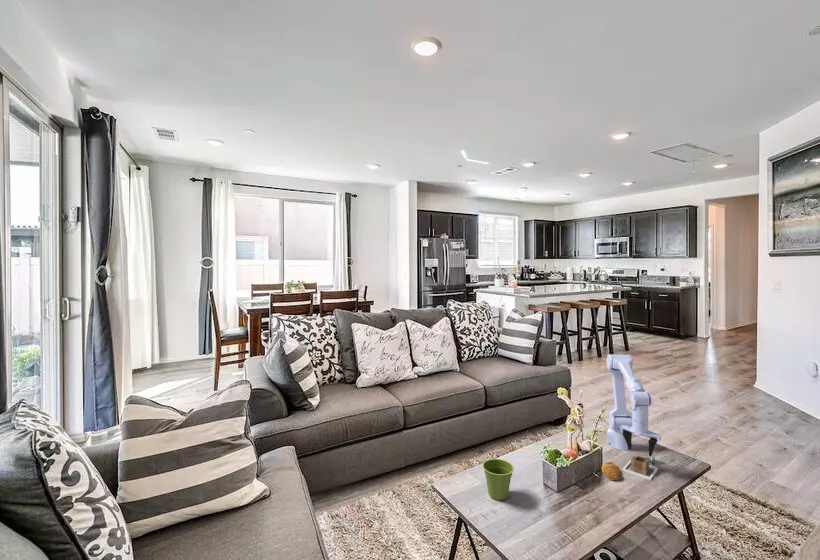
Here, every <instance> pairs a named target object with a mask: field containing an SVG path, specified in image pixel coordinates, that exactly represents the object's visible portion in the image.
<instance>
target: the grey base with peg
mask: <svg viewBox="0 0 820 560" xmlns="http://www.w3.org/2000/svg"><path fill="white" fill-rule="evenodd" d="M645 458H646V459H649V466H651V467H654V468H660V466H661V465H662V463H663V461H660V460H657V459H656V453H655V452H653V453H652V456H649V457H645Z"/></svg>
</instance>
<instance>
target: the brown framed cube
mask: <svg viewBox="0 0 820 560" xmlns="http://www.w3.org/2000/svg"><path fill="white" fill-rule="evenodd" d="M630 460H631V463H630V471H632V472H635V473H638V474H641V475H644V476H646V475H647V474H648V473H649V472H650V468H649V466H650V465H649V459H646V457H642V456H640V455H636V454H634V456H632V458H631V459H630Z"/></svg>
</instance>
